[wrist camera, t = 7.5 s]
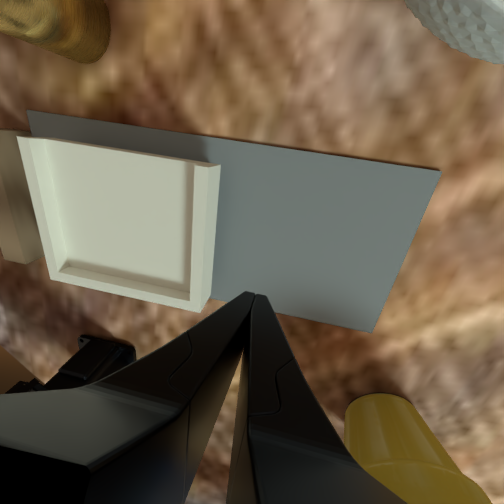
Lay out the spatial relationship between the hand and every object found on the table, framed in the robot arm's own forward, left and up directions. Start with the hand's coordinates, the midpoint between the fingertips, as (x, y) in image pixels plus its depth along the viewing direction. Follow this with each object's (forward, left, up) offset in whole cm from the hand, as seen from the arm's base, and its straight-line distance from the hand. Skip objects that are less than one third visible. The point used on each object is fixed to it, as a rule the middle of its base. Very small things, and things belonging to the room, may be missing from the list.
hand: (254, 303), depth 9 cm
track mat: (-1, +5, -10) cm, 11 cm away
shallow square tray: (-1, +10, -10) cm, 14 cm away
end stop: (-1, +21, -10) cm, 23 cm away
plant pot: (-17, -13, -10) cm, 24 cm away
